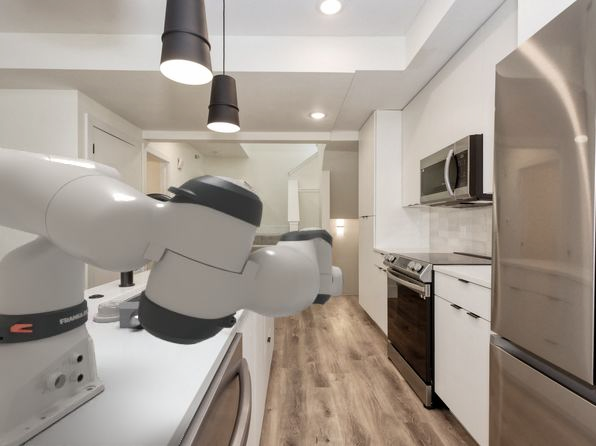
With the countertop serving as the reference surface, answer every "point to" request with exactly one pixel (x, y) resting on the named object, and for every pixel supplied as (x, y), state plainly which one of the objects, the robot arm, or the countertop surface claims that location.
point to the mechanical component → (108, 312)
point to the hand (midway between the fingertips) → (229, 281)
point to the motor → (129, 313)
